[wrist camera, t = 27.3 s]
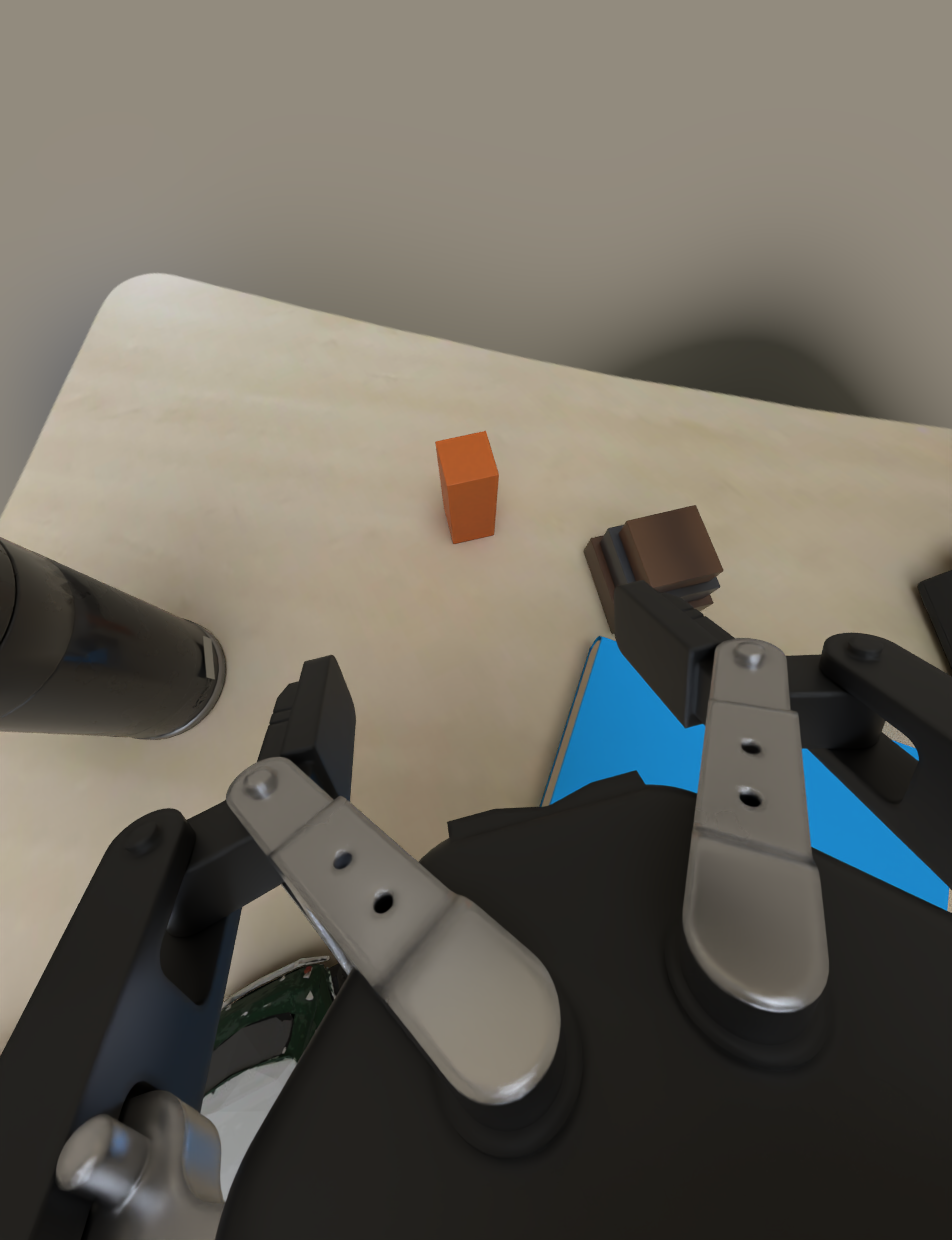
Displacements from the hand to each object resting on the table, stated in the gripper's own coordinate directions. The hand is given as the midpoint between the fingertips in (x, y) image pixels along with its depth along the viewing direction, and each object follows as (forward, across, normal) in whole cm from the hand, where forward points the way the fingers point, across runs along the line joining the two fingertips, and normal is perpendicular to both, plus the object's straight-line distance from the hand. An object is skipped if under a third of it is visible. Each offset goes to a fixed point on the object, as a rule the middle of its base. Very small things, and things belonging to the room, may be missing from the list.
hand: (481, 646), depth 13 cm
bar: (+28, -3, +5) cm, 29 cm away
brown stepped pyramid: (+22, -16, +12) cm, 29 cm away
